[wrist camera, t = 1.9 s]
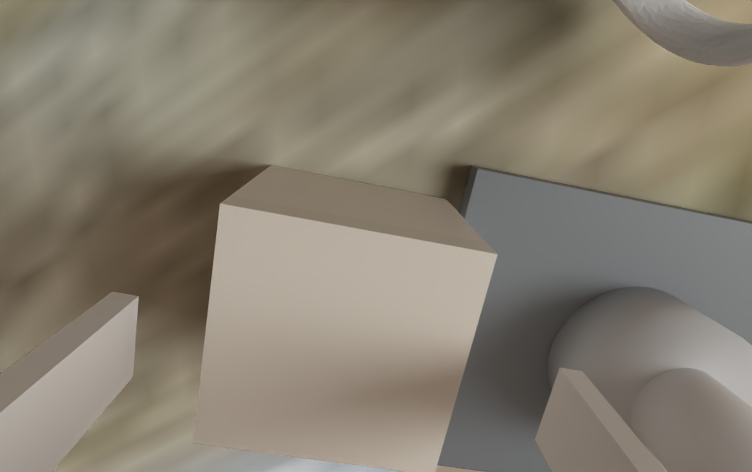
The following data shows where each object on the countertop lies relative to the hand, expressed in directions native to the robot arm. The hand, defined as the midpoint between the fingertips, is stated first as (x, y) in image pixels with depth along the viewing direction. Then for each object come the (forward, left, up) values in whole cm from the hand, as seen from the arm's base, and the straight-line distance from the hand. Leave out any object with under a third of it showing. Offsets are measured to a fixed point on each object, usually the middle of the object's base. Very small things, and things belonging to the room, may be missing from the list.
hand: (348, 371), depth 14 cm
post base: (+15, -2, -9) cm, 17 cm away
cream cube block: (0, 0, -9) cm, 9 cm away
